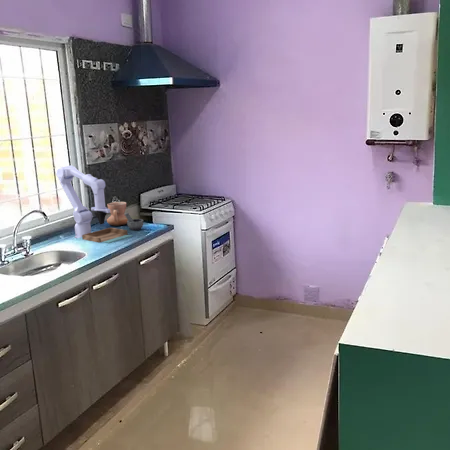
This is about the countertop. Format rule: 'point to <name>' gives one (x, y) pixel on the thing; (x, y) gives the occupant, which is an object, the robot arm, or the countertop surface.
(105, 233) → the tray
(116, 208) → the ceramic jug
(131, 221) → the mortar and pestle
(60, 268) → the countertop surface
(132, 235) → the panel
